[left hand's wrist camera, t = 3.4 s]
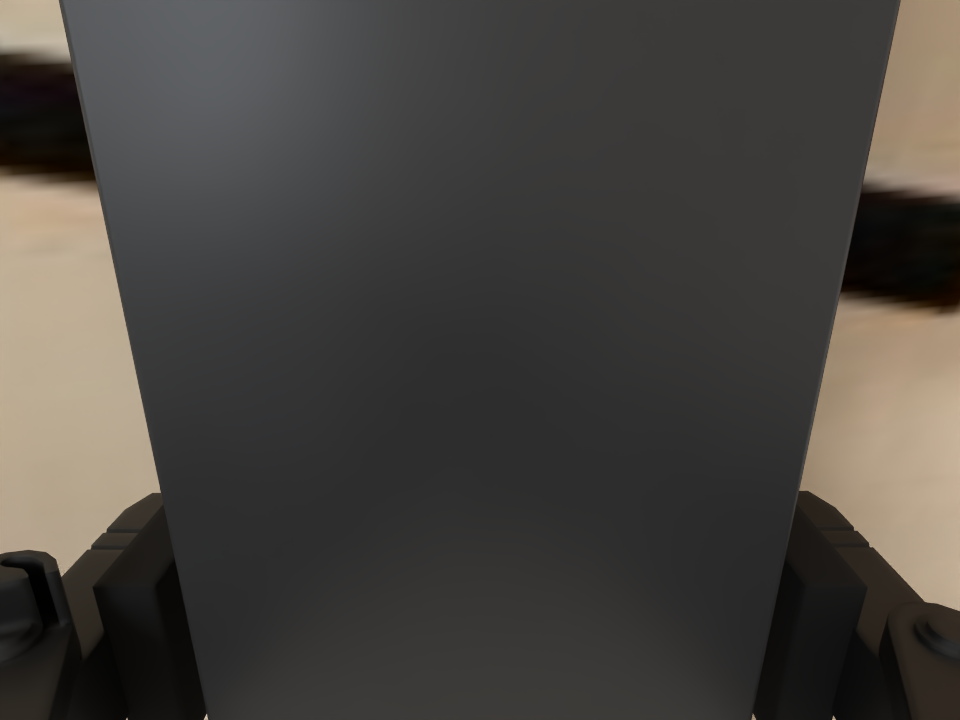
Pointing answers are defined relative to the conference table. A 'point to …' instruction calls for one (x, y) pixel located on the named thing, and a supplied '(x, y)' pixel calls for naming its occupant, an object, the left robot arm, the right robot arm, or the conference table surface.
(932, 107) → the conference table surface
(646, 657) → the bar
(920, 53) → the conference table surface
